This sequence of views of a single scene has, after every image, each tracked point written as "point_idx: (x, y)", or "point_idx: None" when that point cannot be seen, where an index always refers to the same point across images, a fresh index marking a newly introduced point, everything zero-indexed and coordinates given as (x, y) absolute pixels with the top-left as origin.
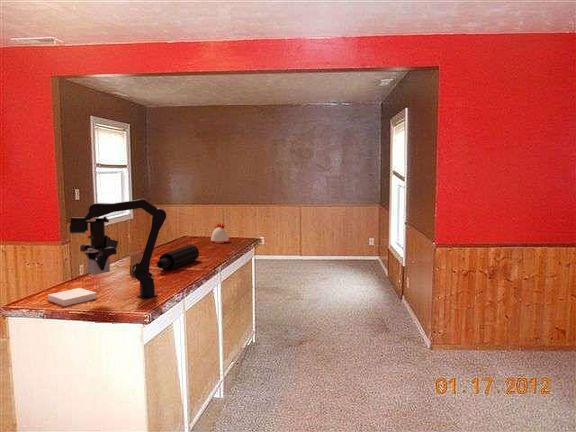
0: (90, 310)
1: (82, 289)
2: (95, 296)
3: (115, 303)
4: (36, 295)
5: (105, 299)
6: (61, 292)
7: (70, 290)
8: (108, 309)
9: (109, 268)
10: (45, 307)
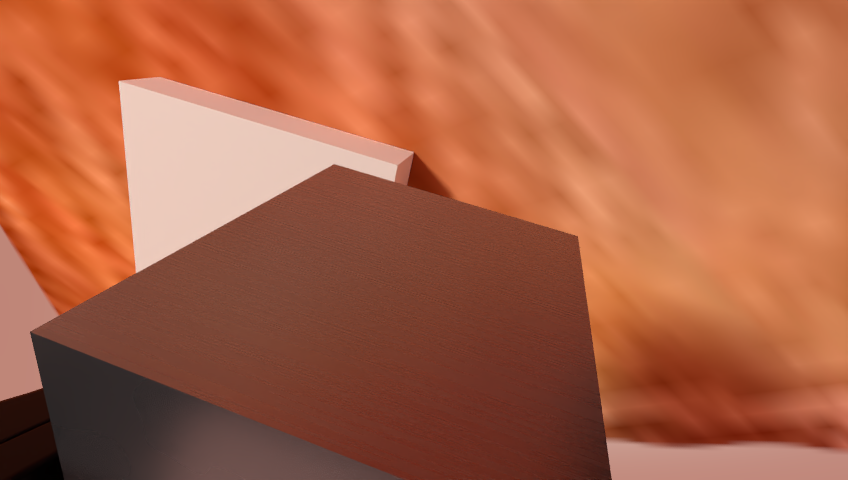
0: (618, 413)
1: (188, 118)
2: (406, 169)
3: (709, 223)
4: (18, 230)
5: (513, 148)
6: (152, 249)
7: (145, 182)
8: (757, 375)
9: (578, 275)
10: None
